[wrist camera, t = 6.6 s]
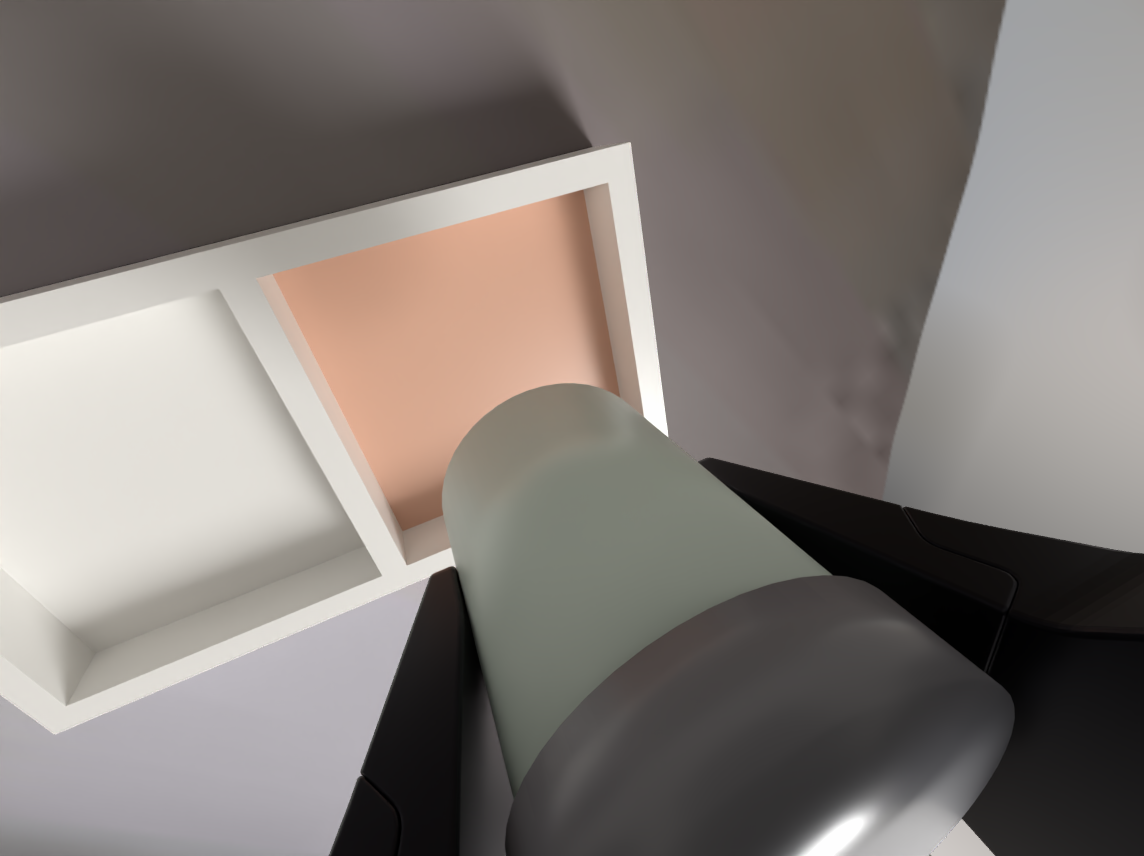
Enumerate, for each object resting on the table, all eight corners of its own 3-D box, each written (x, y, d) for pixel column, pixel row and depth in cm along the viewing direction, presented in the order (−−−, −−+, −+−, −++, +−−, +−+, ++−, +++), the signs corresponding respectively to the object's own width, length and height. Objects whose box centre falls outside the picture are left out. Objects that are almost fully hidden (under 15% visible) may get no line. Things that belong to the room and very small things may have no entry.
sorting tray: (93, 664, 17) (54, 735, 14) (-251, 361, 11) (-395, 404, 9) (641, 444, 21) (673, 474, 19) (593, 146, 15) (630, 141, 13)
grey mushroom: (476, 617, 11) (606, 1103, 5) (389, 428, 9) (451, 953, 3) (672, 529, 12) (960, 852, 6) (645, 338, 10) (1079, 580, 4)
